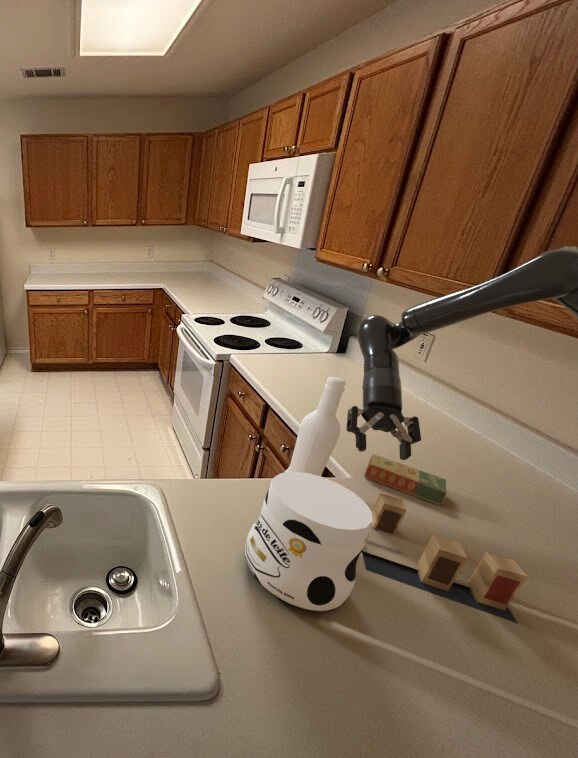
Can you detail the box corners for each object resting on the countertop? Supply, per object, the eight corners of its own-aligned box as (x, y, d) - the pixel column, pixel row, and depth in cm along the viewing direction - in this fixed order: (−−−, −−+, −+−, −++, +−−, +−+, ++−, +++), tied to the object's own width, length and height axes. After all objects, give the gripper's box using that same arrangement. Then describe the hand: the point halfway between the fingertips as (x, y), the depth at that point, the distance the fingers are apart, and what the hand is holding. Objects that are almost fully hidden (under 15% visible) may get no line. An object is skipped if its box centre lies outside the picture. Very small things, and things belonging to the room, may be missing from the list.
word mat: (495, 591, 76) (497, 588, 76) (516, 626, 69) (518, 623, 69) (358, 545, 84) (359, 542, 84) (364, 572, 78) (366, 569, 77)
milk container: (222, 569, 76) (245, 489, 69) (266, 530, 86) (290, 457, 80) (322, 642, 64) (362, 553, 57) (358, 586, 74) (395, 506, 68)
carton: (367, 465, 115) (373, 452, 113) (440, 492, 105) (447, 478, 104) (363, 477, 109) (369, 463, 107) (440, 506, 99) (448, 492, 98)
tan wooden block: (388, 528, 90) (402, 499, 87) (392, 540, 87) (407, 510, 84) (367, 522, 92) (380, 492, 89) (370, 533, 88) (384, 503, 85)
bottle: (319, 491, 101) (362, 379, 90) (311, 506, 95) (356, 388, 84) (285, 477, 106) (321, 369, 95) (275, 490, 100) (313, 376, 89)
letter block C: (492, 592, 75) (514, 559, 72) (505, 611, 71) (528, 577, 68) (465, 584, 76) (485, 551, 73) (477, 602, 72) (498, 568, 69)
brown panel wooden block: (440, 575, 77) (459, 543, 74) (448, 592, 74) (468, 558, 71) (415, 567, 79) (432, 535, 76) (421, 582, 76) (439, 549, 73)
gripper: (356, 379, 98) (356, 443, 92) (425, 390, 94) (430, 457, 88) (342, 391, 104) (341, 452, 98) (406, 402, 101) (409, 465, 95)
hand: (383, 454), depth 93 cm, fingers open, 8 cm apart
